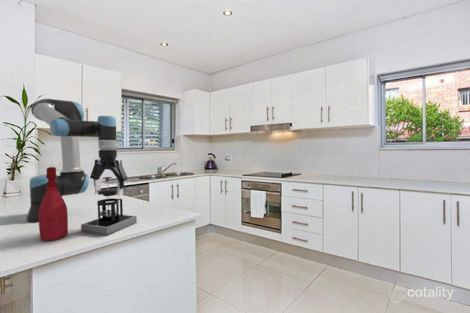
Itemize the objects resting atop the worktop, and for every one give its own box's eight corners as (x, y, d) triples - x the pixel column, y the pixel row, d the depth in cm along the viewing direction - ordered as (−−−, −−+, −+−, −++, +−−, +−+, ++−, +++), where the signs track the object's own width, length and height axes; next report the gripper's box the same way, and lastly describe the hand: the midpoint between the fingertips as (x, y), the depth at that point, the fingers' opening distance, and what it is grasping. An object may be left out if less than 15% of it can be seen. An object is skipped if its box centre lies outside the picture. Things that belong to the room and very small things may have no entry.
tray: (81, 232, 111) (81, 224, 110) (113, 220, 128) (112, 213, 127) (107, 235, 106) (106, 227, 106) (136, 223, 123) (136, 216, 123)
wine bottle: (49, 233, 109) (46, 166, 107) (73, 232, 110) (70, 165, 108) (33, 242, 99) (30, 168, 98) (59, 241, 100) (56, 168, 98)
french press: (102, 230, 109) (100, 179, 108) (92, 226, 115) (90, 177, 113) (127, 223, 118) (125, 176, 117) (117, 220, 124) (115, 175, 123)
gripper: (80, 149, 115) (82, 194, 117) (122, 150, 107) (124, 198, 108) (94, 148, 122) (95, 191, 124) (135, 149, 114) (136, 194, 115)
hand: (109, 194), depth 116 cm, fingers open, 13 cm apart
